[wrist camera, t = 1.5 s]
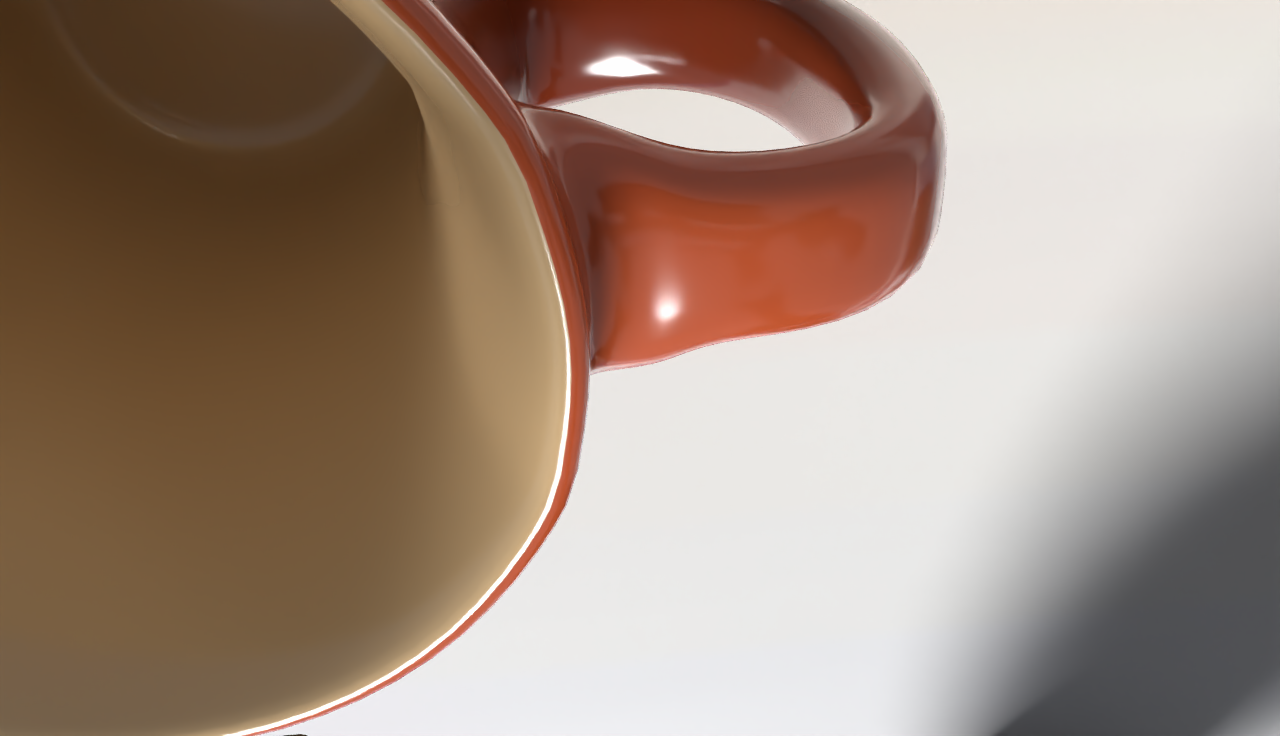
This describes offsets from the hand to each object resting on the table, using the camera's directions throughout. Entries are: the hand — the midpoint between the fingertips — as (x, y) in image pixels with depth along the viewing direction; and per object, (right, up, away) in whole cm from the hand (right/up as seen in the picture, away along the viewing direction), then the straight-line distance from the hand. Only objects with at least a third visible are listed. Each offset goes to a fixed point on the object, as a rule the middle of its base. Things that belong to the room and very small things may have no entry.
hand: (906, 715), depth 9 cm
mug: (-6, +9, +8) cm, 13 cm away
